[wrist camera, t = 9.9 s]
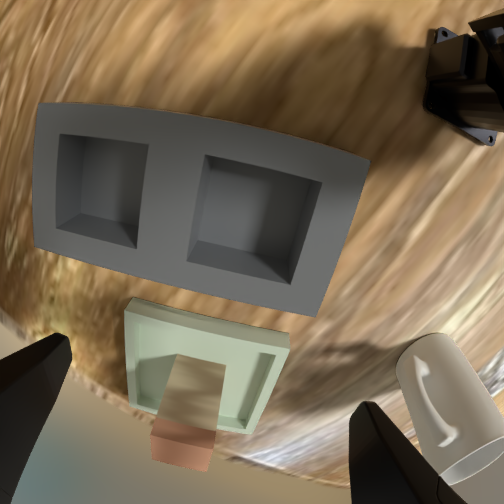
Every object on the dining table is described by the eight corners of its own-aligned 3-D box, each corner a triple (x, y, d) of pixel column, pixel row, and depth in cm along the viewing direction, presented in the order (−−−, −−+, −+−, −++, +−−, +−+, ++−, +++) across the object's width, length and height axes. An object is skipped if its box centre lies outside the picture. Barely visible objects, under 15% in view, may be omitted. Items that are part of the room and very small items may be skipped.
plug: (226, 364, 23) (213, 449, 16) (218, 394, 25) (206, 472, 18) (177, 353, 23) (150, 434, 16) (174, 384, 25) (152, 459, 17)
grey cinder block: (349, 152, 17) (371, 160, 13) (307, 282, 21) (315, 317, 17) (75, 102, 16) (38, 102, 12) (66, 225, 20) (34, 246, 16)
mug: (465, 348, 23) (519, 442, 12) (414, 391, 25) (450, 489, 14) (417, 297, 21) (492, 417, 10) (355, 352, 23) (391, 482, 12)
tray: (289, 333, 22) (290, 349, 21) (252, 420, 27) (251, 434, 26) (133, 297, 22) (124, 310, 20) (134, 393, 27) (129, 406, 25)
